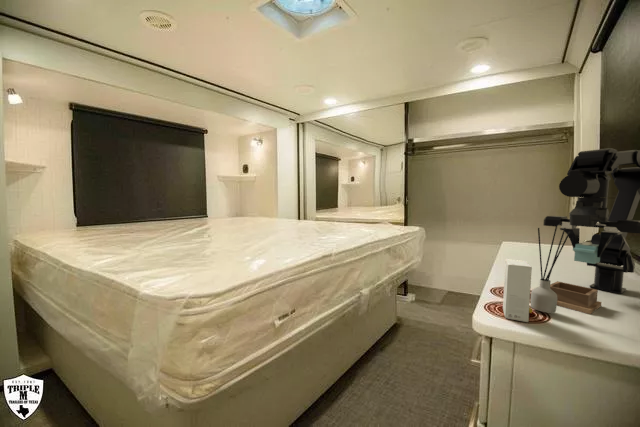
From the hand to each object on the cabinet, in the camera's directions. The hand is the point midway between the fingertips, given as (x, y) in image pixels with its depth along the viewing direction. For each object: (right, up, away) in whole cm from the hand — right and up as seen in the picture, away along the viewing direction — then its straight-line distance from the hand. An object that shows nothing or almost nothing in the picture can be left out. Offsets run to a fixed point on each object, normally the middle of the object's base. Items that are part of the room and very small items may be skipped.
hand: (587, 255), depth 75 cm
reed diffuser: (-21, -12, -12) cm, 27 cm away
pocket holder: (-9, -11, -5) cm, 15 cm away
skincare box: (-29, -12, -13) cm, 33 cm away
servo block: (0, -2, 0) cm, 2 cm away
